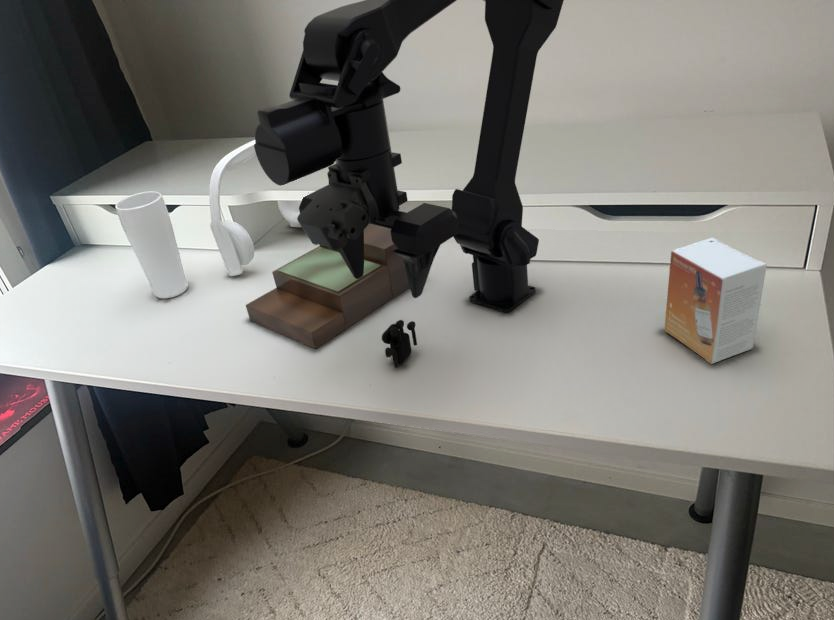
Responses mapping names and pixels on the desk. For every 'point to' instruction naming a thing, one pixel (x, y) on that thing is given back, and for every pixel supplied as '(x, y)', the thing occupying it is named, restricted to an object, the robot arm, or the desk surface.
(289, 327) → the step shelf
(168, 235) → the drinking glass
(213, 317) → the desk surface
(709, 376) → the desk surface
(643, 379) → the desk surface
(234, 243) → the headset
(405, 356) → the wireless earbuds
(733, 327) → the small box
